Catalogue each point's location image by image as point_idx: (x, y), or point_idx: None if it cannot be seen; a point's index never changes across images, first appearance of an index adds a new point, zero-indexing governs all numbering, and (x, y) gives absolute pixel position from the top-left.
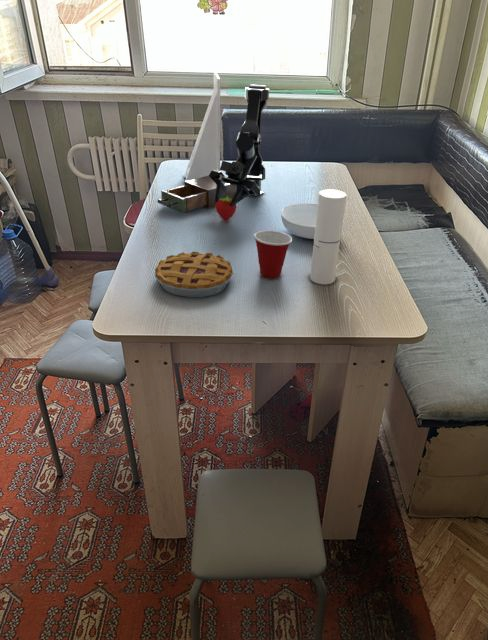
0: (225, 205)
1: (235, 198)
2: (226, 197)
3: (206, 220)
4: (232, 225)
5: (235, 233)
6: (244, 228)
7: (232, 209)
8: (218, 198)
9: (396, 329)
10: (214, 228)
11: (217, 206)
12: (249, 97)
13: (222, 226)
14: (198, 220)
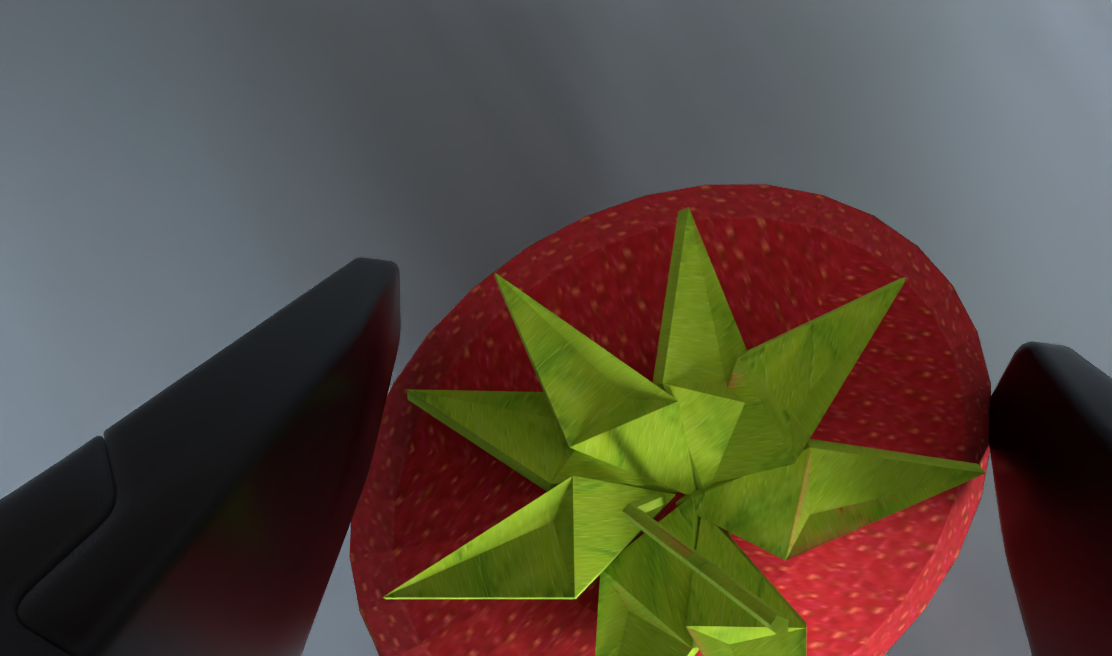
0: (555, 251)
1: (147, 410)
2: (779, 647)
3: (969, 273)
4: (405, 350)
5: (158, 48)
6: (129, 355)
7: None
8: (1040, 498)
9: None
10: (612, 27)
11: (805, 196)
12: None
13: (540, 195)
14: (1093, 183)
